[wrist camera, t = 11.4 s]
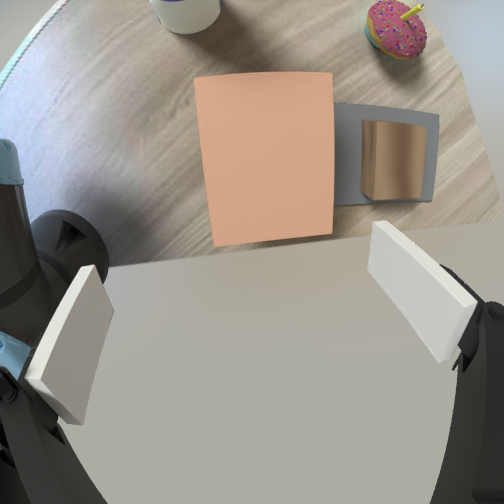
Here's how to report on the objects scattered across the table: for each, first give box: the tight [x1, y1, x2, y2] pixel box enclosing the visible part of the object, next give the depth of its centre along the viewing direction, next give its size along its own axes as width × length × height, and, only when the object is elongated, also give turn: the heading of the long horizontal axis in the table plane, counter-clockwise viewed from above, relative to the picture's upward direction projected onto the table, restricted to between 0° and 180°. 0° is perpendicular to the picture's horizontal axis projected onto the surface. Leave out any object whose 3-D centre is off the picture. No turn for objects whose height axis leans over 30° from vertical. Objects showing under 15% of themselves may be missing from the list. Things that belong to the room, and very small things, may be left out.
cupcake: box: [365, 0, 427, 60], centre depth 22 cm, size 9×8×12 cm
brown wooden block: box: [360, 119, 427, 200], centre depth 34 cm, size 8×10×4 cm
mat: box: [333, 103, 439, 206], centre depth 36 cm, size 18×14×1 cm
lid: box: [194, 72, 334, 247], centre depth 26 cm, size 12×16×2 cm
